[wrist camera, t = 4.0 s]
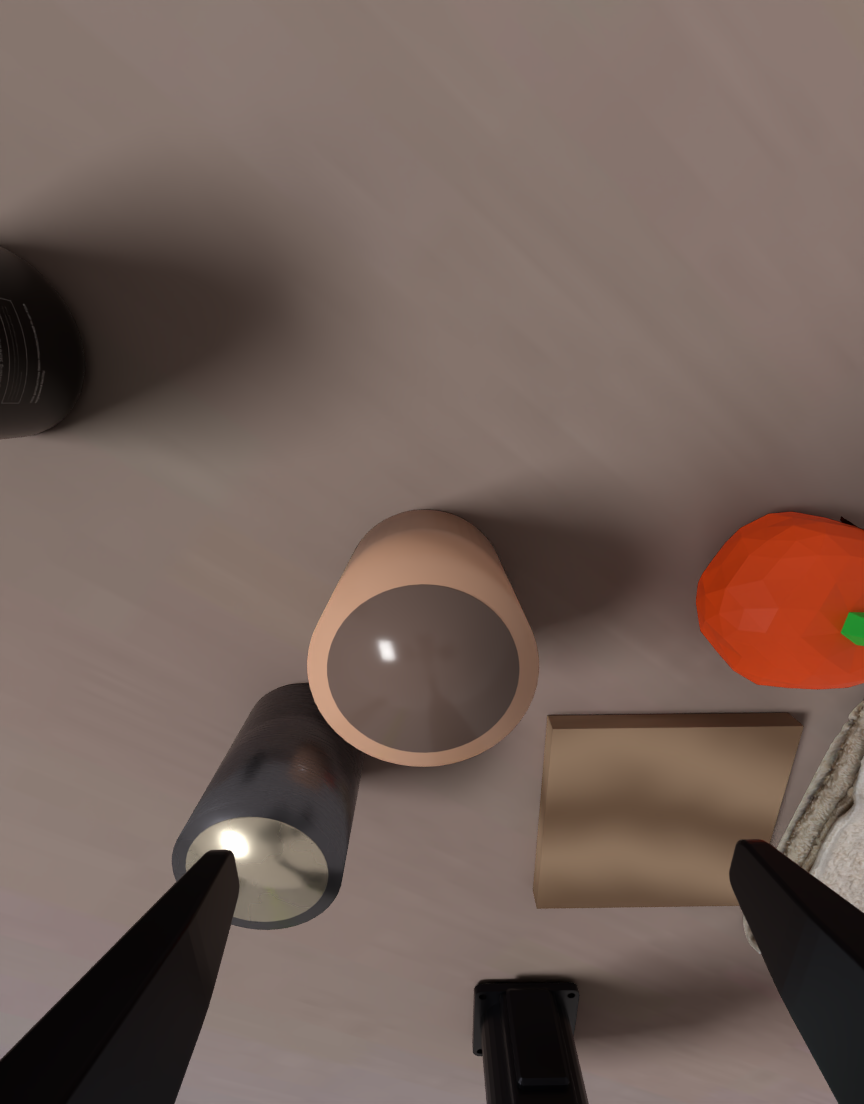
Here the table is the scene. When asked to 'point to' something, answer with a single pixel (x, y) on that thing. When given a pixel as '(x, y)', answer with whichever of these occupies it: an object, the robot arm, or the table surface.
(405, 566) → the terracotta cup
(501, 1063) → the robot arm
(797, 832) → the washcloth
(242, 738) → the black metal can
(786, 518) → the pumpkin
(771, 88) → the table surface
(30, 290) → the supplement bottle
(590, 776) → the walnut board
